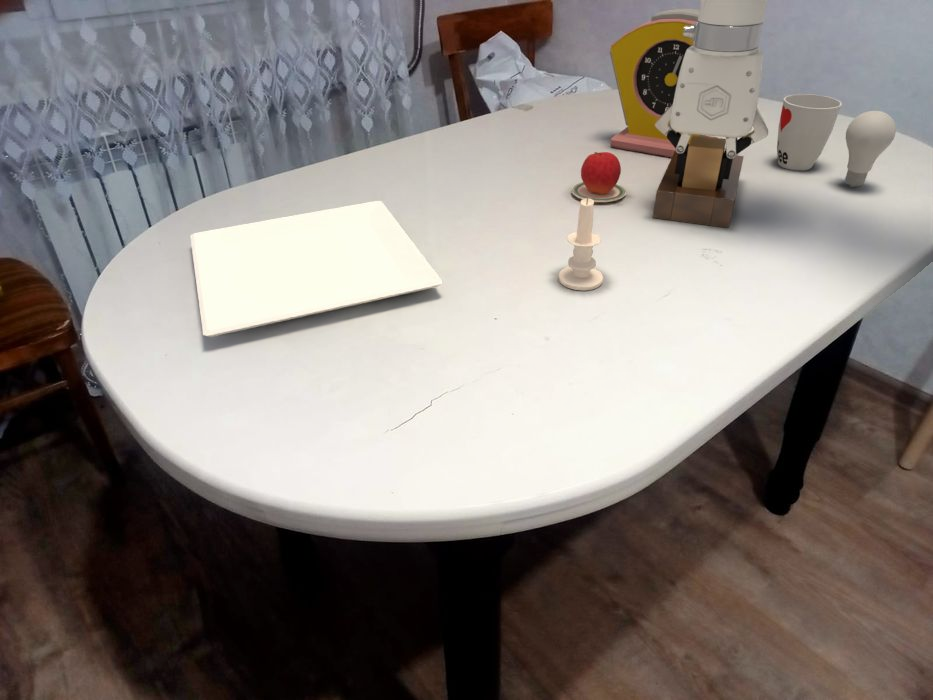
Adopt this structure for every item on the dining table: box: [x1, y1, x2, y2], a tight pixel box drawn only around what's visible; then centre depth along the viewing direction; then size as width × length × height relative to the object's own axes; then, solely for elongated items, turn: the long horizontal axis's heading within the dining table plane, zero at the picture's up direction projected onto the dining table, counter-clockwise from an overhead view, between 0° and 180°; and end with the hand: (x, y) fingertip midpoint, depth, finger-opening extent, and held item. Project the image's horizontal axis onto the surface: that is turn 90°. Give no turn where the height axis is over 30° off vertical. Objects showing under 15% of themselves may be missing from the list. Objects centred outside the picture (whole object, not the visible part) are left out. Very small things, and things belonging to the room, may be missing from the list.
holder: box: [652, 150, 745, 229], centre depth 95 cm, size 10×18×4 cm, turn 157°
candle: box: [558, 197, 604, 292], centre depth 75 cm, size 5×5×10 cm
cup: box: [776, 93, 843, 171], centre depth 103 cm, size 8×8×10 cm
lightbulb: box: [844, 110, 897, 188], centre depth 95 cm, size 6×6×11 cm
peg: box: [682, 136, 726, 191], centre depth 90 cm, size 4×4×8 cm
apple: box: [571, 151, 627, 203], centre depth 97 cm, size 8×8×6 cm
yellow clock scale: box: [609, 7, 719, 159], centre depth 108 cm, size 22×9×22 cm, turn 56°
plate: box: [189, 200, 444, 338], centre depth 81 cm, size 26×26×2 cm
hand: (700, 179), depth 91 cm, fingers closed on peg, 4 cm apart
